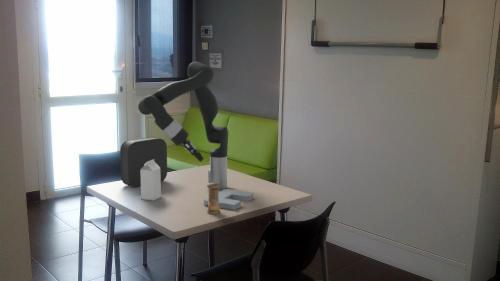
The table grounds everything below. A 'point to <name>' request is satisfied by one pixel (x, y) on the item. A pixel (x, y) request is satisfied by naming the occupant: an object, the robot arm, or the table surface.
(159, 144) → the speaker
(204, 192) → the table surface
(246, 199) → the notched board
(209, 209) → the bobbin
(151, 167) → the milk carton
